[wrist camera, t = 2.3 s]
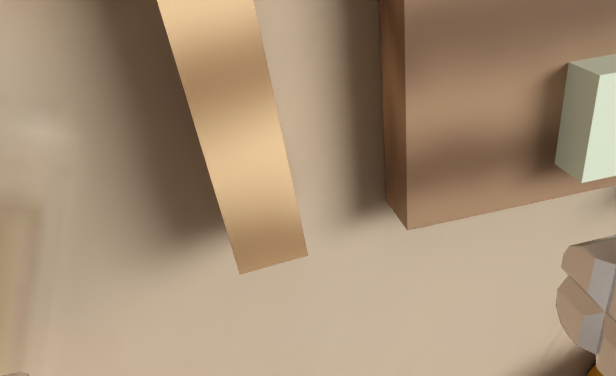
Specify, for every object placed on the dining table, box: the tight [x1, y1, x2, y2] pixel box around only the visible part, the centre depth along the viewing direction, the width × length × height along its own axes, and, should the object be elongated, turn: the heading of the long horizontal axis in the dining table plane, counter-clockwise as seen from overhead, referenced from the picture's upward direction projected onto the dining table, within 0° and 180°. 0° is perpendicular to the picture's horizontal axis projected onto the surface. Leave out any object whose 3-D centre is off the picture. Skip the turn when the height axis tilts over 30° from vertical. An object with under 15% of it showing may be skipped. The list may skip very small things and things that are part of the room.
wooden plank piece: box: [157, 0, 308, 274], centre depth 21 cm, size 16×3×5 cm, turn 9°
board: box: [379, 0, 616, 230], centre depth 24 cm, size 18×16×3 cm
